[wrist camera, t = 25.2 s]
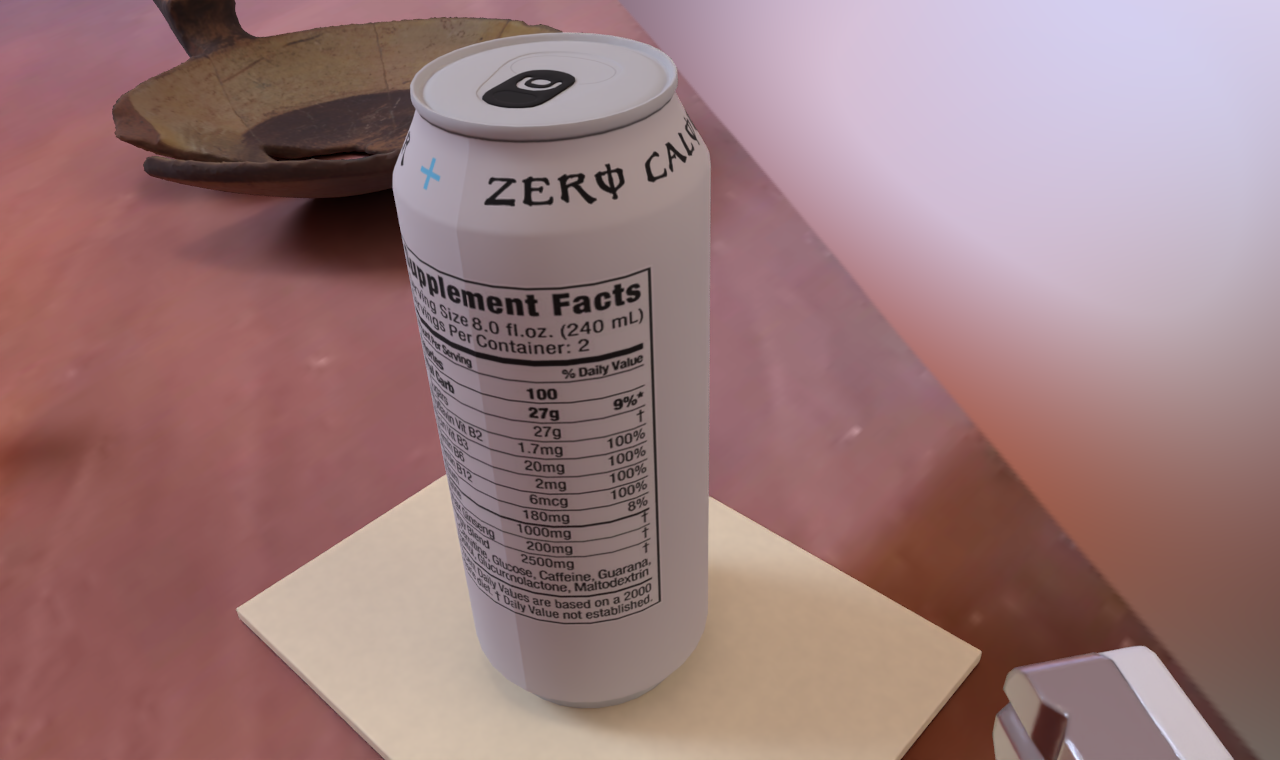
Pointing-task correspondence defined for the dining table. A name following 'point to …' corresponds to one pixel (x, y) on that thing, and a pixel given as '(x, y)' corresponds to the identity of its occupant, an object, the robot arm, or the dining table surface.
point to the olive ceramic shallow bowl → (288, 100)
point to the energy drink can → (567, 351)
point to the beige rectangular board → (637, 729)
